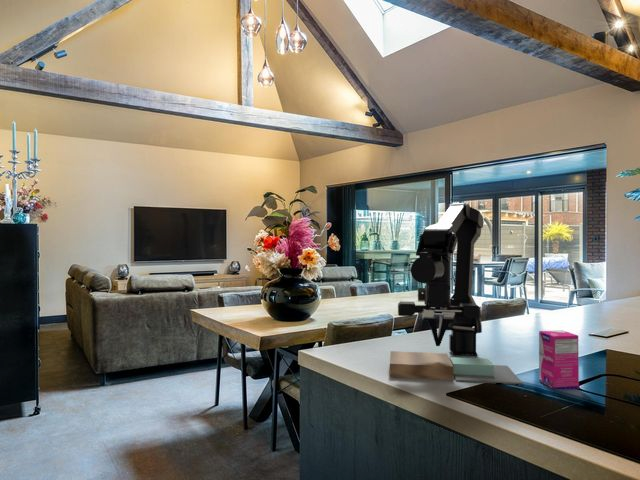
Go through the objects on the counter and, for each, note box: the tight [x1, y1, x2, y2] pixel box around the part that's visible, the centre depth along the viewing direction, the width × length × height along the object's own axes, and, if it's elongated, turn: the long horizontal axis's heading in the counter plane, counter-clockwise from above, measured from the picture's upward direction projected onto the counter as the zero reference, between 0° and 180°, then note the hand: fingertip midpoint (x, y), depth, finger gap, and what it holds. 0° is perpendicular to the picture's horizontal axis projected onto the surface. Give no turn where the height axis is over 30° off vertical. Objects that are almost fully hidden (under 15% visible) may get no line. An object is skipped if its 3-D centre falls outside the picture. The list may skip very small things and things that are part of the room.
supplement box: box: [538, 329, 580, 390], centre depth 99 cm, size 6×6×12 cm
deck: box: [389, 350, 454, 381], centre depth 109 cm, size 14×12×3 cm
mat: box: [453, 364, 524, 386], centre depth 107 cm, size 14×14×1 cm
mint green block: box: [449, 356, 495, 376], centre depth 108 cm, size 9×6×2 cm, turn 82°
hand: (437, 345), depth 109 cm, fingers closed
